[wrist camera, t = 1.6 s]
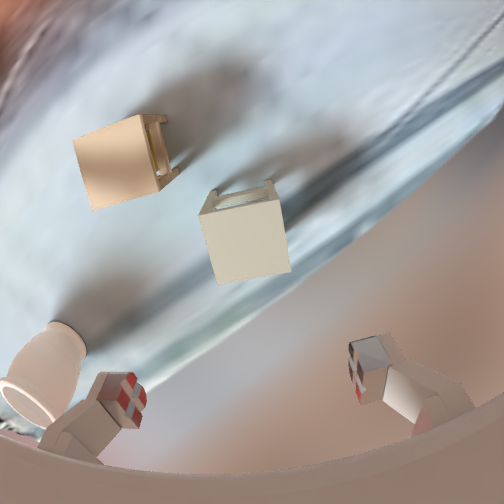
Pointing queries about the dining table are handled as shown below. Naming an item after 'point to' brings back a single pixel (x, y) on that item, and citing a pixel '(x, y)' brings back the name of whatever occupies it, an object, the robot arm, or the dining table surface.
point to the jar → (45, 374)
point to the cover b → (245, 234)
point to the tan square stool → (123, 161)
